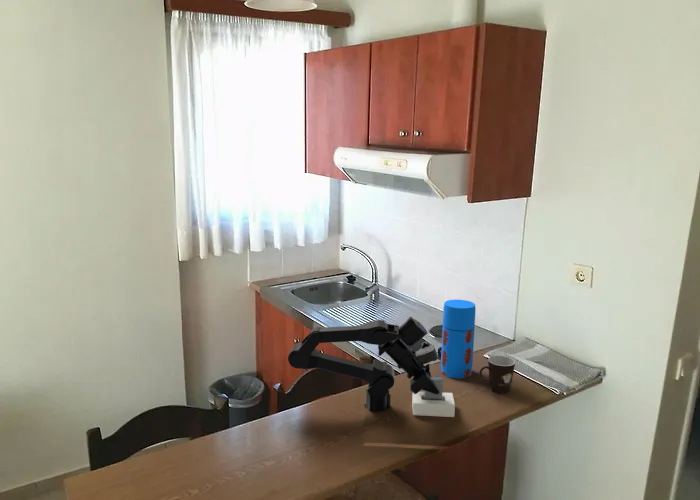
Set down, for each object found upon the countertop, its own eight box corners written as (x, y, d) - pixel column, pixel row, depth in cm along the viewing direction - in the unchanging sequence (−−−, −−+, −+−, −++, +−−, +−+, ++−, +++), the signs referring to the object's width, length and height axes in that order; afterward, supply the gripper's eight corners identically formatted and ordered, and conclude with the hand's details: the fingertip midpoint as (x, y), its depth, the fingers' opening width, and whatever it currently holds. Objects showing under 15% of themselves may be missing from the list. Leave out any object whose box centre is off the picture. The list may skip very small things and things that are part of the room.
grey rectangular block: (424, 410, 168) (425, 379, 166) (424, 407, 170) (425, 376, 168) (441, 411, 167) (442, 380, 165) (440, 408, 169) (442, 377, 167)
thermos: (434, 369, 200) (437, 301, 195) (459, 364, 204) (463, 298, 199) (452, 380, 190) (456, 310, 185) (478, 375, 195) (482, 306, 190)
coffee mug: (510, 384, 188) (512, 356, 186) (515, 396, 180) (517, 366, 178) (475, 382, 189) (477, 354, 187) (478, 394, 181) (480, 364, 179)
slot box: (412, 417, 165) (413, 403, 164) (412, 404, 173) (412, 391, 172) (454, 419, 164) (454, 405, 163) (451, 406, 172) (452, 392, 171)
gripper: (423, 349, 155) (462, 388, 157) (420, 327, 173) (455, 362, 175) (394, 374, 157) (432, 413, 159) (394, 350, 176) (428, 384, 177)
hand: (438, 391), depth 167 cm, fingers closed on grey rectangular block, 2 cm apart
